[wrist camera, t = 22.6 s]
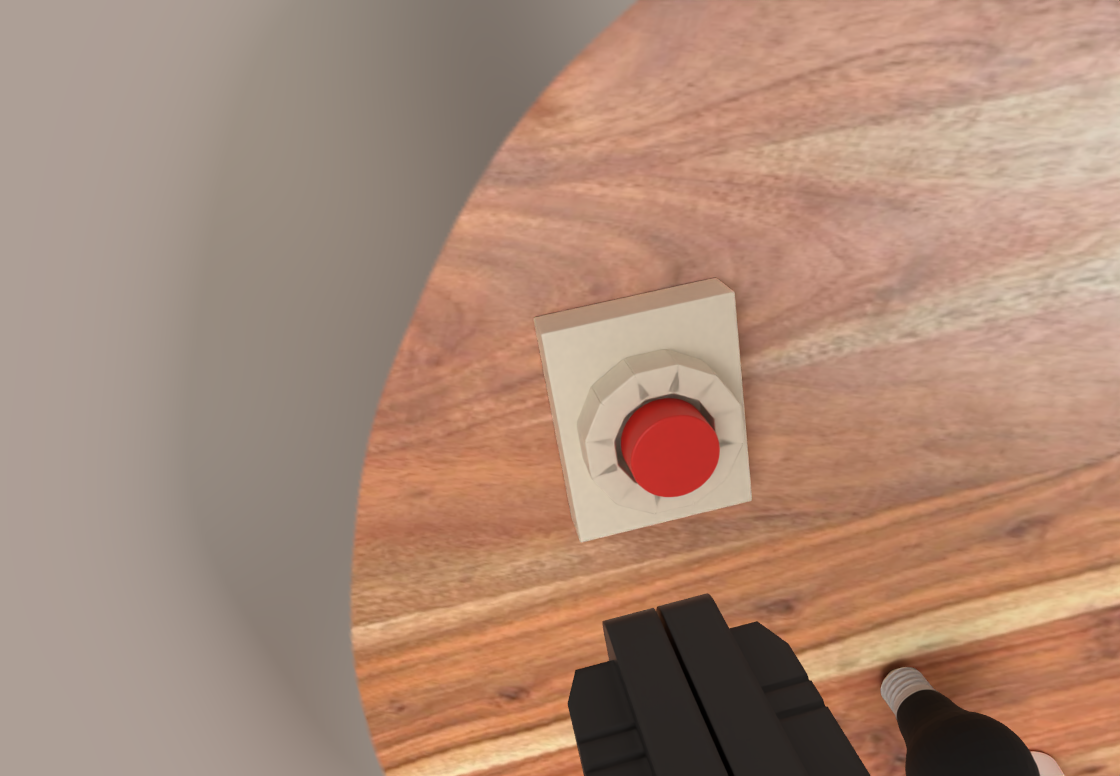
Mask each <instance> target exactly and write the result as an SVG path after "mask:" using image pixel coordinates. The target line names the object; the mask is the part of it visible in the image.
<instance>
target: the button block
mask: <svg viewBox="0 0 1120 776" xmlns="http://www.w3.org/2000/svg"><path fill="white" fill-rule="evenodd" d="M533 320H534V325H535V330H536V335H537V341H538V346H539V351H540V356H541V361H542V367H543V372H544V377H545V382H546V387H547V393H548V398H549V403H550V408H551V413H552V419H553V424H554V429H555V434H556V439H557V445H558V450H559V455H560V460H561V465H562V471H563V476H564V481H565V486H566V491H567V496H568V502H569V507H570V512H571V517H572V520H573V523H574V526H575V528H576V531H577V534H578V537H579V540H580V542H585V541H589V540H593V539H597V538H601V537H606V536H610V535H614V534H618V533H622V532H626V531H630V530H634V529H638V528H642V527H646V526H650V525H654V524H659V523H663V522H667V521H671V520H675V519H679V518H683V517H687V516H691V515H695V514H699V513H703V512H708V511H712V510H716V509H720V508H724V507H728V506H732V505H736V504H740V503H744V502H748V501H752V494H751V482H750V470H749V458H748V446H747V434H746V422H745V410H744V399H743V387H742V375H741V363H740V351H739V339H738V327H737V315H736V303H735V292H734V291H733V290H731V289H730V288H729V287H728V286H726V285H725V284H724V283H722V282H721V281H720V280H718V279H717V278H712V279H707V280H703V281H698V282H693V283H689V284H684V285H680V286H675V287H671V288H666V289H661V290H657V291H652V292H648V293H643V294H639V295H634V296H630V297H625V298H620V299H616V300H611V301H607V302H602V303H598V304H593V305H588V306H584V307H579V308H575V309H570V310H566V311H561V312H556V313H552V314H547V315H543V316H538V317H534V318H533ZM663 398H675V399H680V400H683V401H686V402H688V403H690V404H692V405H693V406H694V407H695V408H696V409H697V410H698V411H699V412H700V413H701V414H702V416H703V417H704V418H705V419H706V421H707V422H708V423H709V424H710V426H711V427H712V428H713V430H714V431H715V433H716V435H717V437H718V440H719V445H720V455H719V460H718V464H717V466H716V468H715V470H714V472H713V474H712V475H711V477H710V478H709V479H708V480H707V481H706V482H705V483H704V484H703V485H702V486H701V487H699V488H698V489H696V490H694V491H693V492H691V493H688V494H686V495H682V496H678V497H661V496H657V495H654V494H651V493H649V492H647V491H646V490H644V489H643V488H642V487H641V486H640V485H639V484H638V483H637V482H636V480H635V478H634V477H633V475H632V473H631V471H630V469H629V467H628V465H627V463H626V461H625V459H624V457H623V454H622V451H621V436H622V432H623V429H624V427H625V425H626V423H627V421H628V420H629V418H630V417H631V416H632V415H633V413H635V412H636V411H637V410H638V409H639V408H641V407H642V406H644V405H645V404H647V403H649V402H652V401H654V400H658V399H663Z"/></svg>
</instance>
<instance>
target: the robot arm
mask: <svg viewBox="0 0 1120 776" xmlns="http://www.w3.org/2000/svg"><path fill="white" fill-rule="evenodd" d="M603 630H604V636H605V641H606V646H607V651H608V656H609V661H608V662H604V663H600V664H597V665H593V666H589V667H585V668H582V669H578V670H576V671H575V675H574V679H573V683H572V687H571V692H570V696H569V700H568V708H569V712H570V716H571V721H572V725H573V729H574V734H575V738H576V742H577V747H578V751H579V755H580V760H581V764H582V769H583V773H584V776H870V774H869V772H868V771H867V769H866V768H865V766H864V764H863V763H862V761H861V760H860V758H859V756H858V755H857V753H856V752H855V750H854V748H853V747H852V745H851V744H850V742H849V740H848V739H847V737H846V736H845V734H844V732H843V731H842V729H841V728H840V726H839V724H838V723H837V721H836V719H835V718H834V716H833V715H832V713H831V711H830V710H829V708H828V707H826V706H825V704H824V701H823V699H822V697H821V695H820V694H819V692H818V691H817V689H816V687H815V686H814V684H813V683H812V681H809V679H808V676H807V673H806V671H805V670H804V668H803V667H802V665H801V663H800V662H799V660H798V659H797V657H796V655H795V654H794V652H793V651H792V649H791V647H790V646H789V644H788V643H787V642H785V641H784V640H782V639H781V638H780V637H778V636H777V635H775V634H774V633H773V632H771V631H770V630H769V629H767V628H766V627H764V626H763V625H762V624H760V623H759V622H757V621H756V622H753V623H749V624H745V625H741V626H738V627H734V628H730V629H729V627H728V626H727V624H726V622H725V620H724V618H723V616H722V614H721V613H720V611H719V609H718V607H717V605H716V603H715V602H714V600H713V598H712V597H711V596H710V595H709V594H703V595H700V596H696V597H692V598H688V599H684V600H681V601H677V602H673V603H669V604H665V605H662V606H658V607H657V609H656V610H655V609H654V608H651V609H647V610H643V611H640V612H636V613H632V614H628V615H624V616H621V617H617V618H613V619H609V620H605V621H603Z"/></svg>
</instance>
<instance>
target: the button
mask: <svg viewBox="0 0 1120 776" xmlns="http://www.w3.org/2000/svg"><path fill="white" fill-rule="evenodd" d="M621 451H622V454H623V457H624V459H625V461H626V463H627V465H628V467H629V469H630V471H631V473H632V475H633V477H634V478H635V480H636V482H637V483H638V484H639V485H640V486H641V487H642V488H643V489H644V490H646V491H647V492H649V493H651V494H654V495H657V496H661V497H678V496H682V495H686V494H688V493H691V492H693V491H694V490H696V489H698V488H699V487H701V486H702V485H703V484H704V483H705V482H706V481H707V480H708V479H709V478H710V477H711V475H712V474H713V472H714V470H715V468H716V466H717V464H718V460H719V455H720V445H719V440H718V437H717V435H716V433H715V431H714V430H713V428H712V427H711V426H710V424H709V423H708V422H707V421H706V419H705V418H704V417H703V416H702V414H701V413H700V412H699V411H698V410H697V409H696V408H695V407H694V406H693V405H692V404H690V403H688V402H686V401H683V400H680V399H675V398H663V399H658V400H654V401H652V402H649V403H647V404H645V405H644V406H642V407H641V408H639V409H638V410H637V411H636V412H635V413H633V415H632V416H631V417H630V418H629V420H628V421H627V423H626V425H625V427H624V429H623V432H622V436H621Z"/></svg>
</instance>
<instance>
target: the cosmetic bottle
mask: <svg viewBox="0 0 1120 776" xmlns="http://www.w3.org/2000/svg"><path fill="white" fill-rule="evenodd" d="M1030 752H1031V754H1032V756H1033V758H1034V760H1035V762H1036V764H1037V766H1038V769H1039V773H1040V776H1065V775H1064V773H1063V772H1062V770H1061V769H1060V767H1059V765H1058V764H1057V762H1056V761H1055V760H1054V759H1053V758H1052V757H1050V756H1049V755H1047V754H1044V753H1041V752H1035V751H1030Z"/></svg>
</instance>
